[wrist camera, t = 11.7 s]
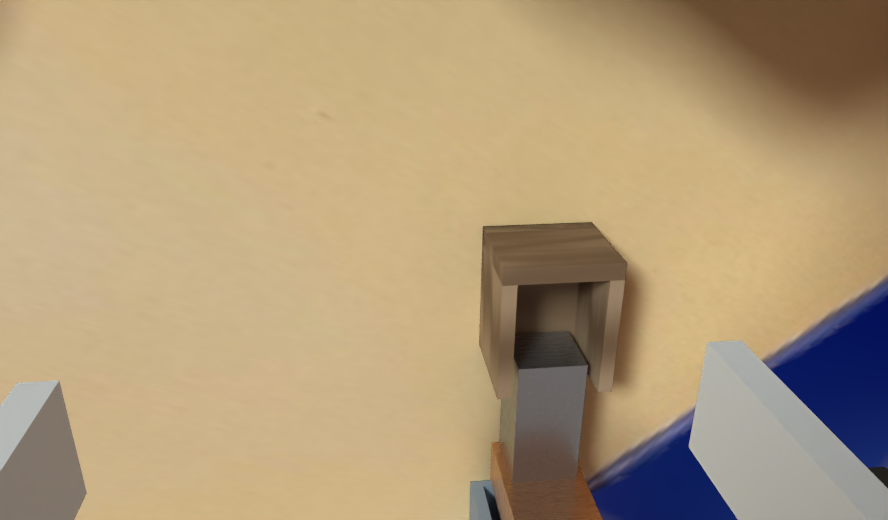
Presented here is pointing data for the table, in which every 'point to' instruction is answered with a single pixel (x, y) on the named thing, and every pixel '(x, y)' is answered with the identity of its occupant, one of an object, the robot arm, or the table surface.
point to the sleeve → (550, 295)
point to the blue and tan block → (542, 433)
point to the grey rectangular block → (482, 501)
